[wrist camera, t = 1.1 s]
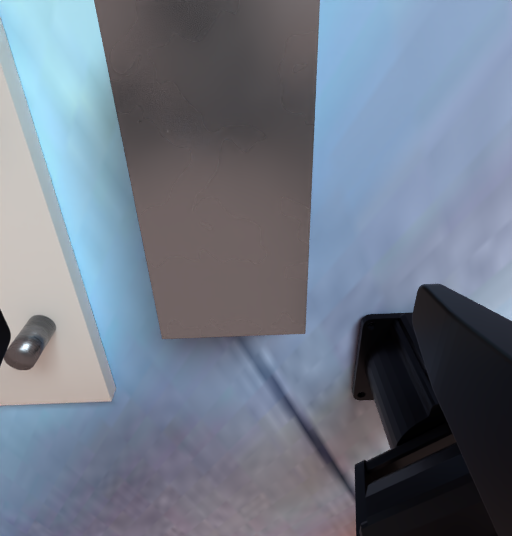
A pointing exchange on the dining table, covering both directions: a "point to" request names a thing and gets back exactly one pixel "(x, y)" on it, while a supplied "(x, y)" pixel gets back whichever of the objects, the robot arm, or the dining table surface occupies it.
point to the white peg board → (40, 272)
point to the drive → (219, 155)
